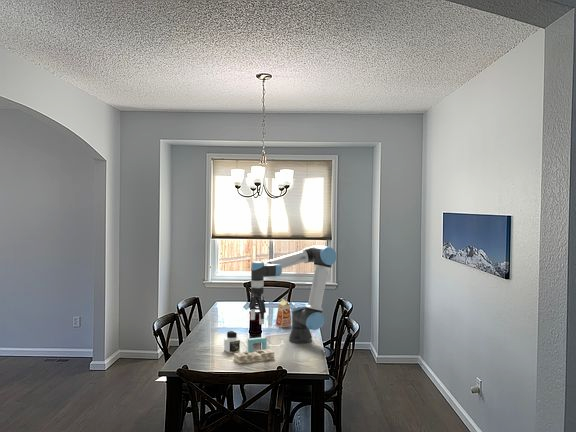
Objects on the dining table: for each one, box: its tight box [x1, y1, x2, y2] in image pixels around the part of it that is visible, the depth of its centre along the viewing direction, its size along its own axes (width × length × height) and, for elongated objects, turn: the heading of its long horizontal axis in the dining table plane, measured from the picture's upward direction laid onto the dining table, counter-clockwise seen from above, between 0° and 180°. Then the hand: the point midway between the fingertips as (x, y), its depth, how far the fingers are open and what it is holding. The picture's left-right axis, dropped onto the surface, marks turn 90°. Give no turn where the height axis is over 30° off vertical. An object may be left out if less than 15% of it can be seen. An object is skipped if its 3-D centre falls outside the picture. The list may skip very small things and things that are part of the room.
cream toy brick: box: [233, 348, 275, 364], centre depth 315 cm, size 22×8×4 cm, turn 117°
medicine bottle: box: [223, 330, 241, 354], centre depth 333 cm, size 7×7×12 cm
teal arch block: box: [247, 336, 268, 353], centre depth 331 cm, size 11×3×8 cm, turn 117°
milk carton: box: [274, 298, 292, 328], centre depth 406 cm, size 9×9×20 cm
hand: (257, 321), depth 331 cm, fingers open, 13 cm apart
